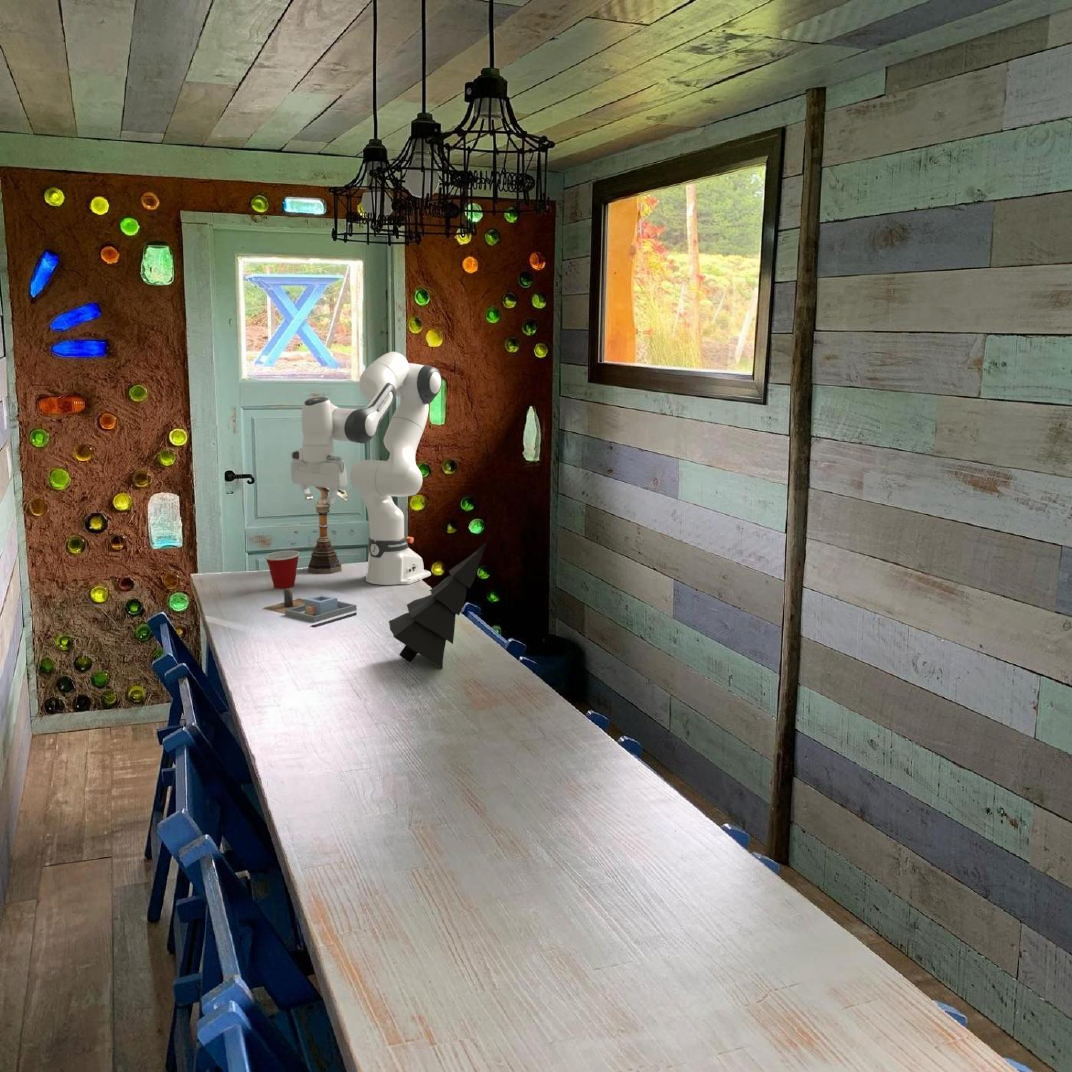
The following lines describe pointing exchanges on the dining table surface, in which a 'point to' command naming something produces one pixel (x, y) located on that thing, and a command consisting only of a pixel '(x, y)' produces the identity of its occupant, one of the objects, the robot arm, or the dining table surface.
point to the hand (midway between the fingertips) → (319, 501)
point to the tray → (344, 609)
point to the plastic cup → (283, 568)
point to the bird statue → (324, 539)
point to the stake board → (281, 606)
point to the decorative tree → (435, 614)
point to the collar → (320, 604)
